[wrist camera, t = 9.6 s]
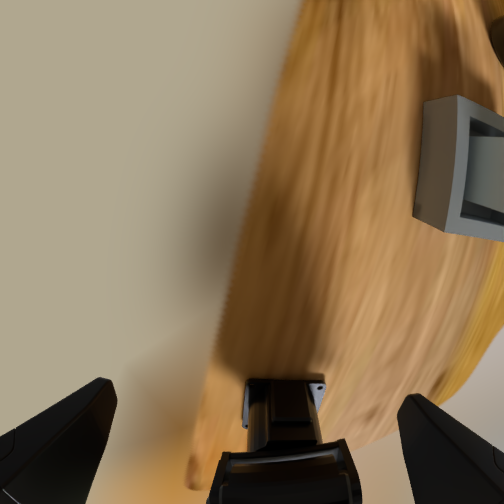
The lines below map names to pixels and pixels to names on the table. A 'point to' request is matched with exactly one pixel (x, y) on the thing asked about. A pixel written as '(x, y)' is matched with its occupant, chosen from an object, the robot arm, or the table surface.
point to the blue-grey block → (485, 172)
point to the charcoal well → (454, 168)
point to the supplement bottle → (498, 37)
